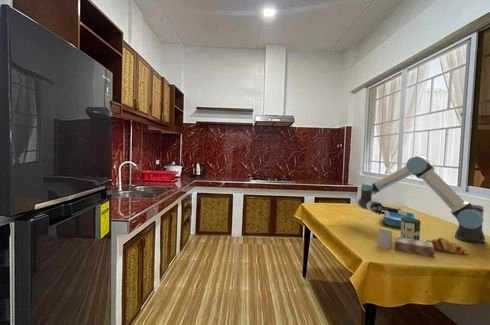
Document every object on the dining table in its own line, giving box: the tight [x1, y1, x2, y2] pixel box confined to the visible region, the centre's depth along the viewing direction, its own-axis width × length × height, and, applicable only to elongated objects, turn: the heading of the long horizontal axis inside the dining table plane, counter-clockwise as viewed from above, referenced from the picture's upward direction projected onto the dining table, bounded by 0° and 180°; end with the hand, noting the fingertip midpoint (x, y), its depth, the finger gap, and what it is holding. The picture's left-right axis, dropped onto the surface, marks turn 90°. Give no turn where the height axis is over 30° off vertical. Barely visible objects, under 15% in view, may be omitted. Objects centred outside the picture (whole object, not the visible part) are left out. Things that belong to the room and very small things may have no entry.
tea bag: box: [376, 228, 393, 249], centre depth 155 cm, size 4×7×10 cm, turn 52°
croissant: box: [426, 237, 470, 255], centre depth 152 cm, size 21×10×8 cm, turn 50°
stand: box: [394, 236, 435, 258], centre depth 150 cm, size 18×11×5 cm, turn 59°
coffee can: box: [400, 218, 421, 240], centre depth 164 cm, size 10×10×14 cm
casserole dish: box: [382, 210, 417, 228], centre depth 211 cm, size 37×22×7 cm, turn 149°
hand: (397, 214), depth 174 cm, fingers open, 13 cm apart
